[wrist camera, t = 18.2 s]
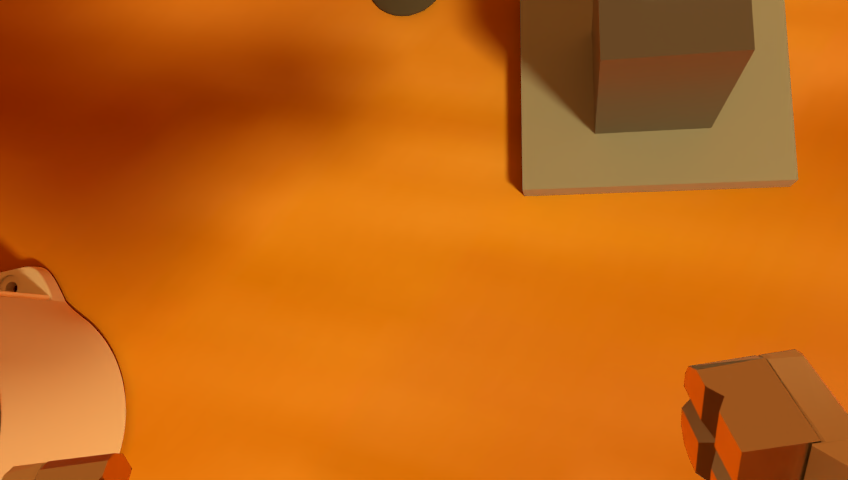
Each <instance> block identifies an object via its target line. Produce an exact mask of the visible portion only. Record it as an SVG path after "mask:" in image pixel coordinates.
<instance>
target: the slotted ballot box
mask: <svg viewBox="0 0 848 480" xmlns="http://www.w3.org/2000/svg"><path fill="white" fill-rule="evenodd" d="M754 51H755V42H754V27H753V13H752V0H593V15H592V54H593V87H594V121H595V134H603V133H622V132H642V131H662V130H681V129H701V128H712V126H713V124H714V122H715V120H716V119H717V117H718V115H719V113H720V111H721V110H722V108H723V106H724V104H725V103H726V101H727V99H728V97H729V95H730V94H731V92H732V90H733V88H734V86H735V85H736V83H737V81H738V79H739V77H740V76H741V74H742V72H743V70H744V68H745V67H746V65H747V63H748V61H749V60H750V58H751V56H752V54H753V52H754Z"/></svg>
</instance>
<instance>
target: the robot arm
mask: <svg viewBox="0 0 848 480" xmlns="http://www.w3.org/2000/svg"><path fill="white" fill-rule="evenodd" d="M16 285H17V291H16V292H14V288H15V286H16ZM684 387H685V389H686V391H687V393H688V395H689V397H690V400H689V401H688V402H687V403H686V404H685V405H684V406H683V407H682V415H681V427H682V434H683V440H684V445H685V448H686V451H687V454H688V457H689V459H690V462H691V464H692V466H693V468H694V471H695V473H697V474H698V475H700V476H701V477H703V478H704V479H706V480H848V414H847V412H846V411H845V410H844V408H843V407H842V406H841V404H840V403H839V402H838V400H837V399H836V398H835V396H834V395H833V394H832V392H831V391H830V390H829V388H828V387H827V386H826V384H825V383H824V382H823V380H822V379H821V378H820V376H819V375H818V374H817V372H816V371H815V370H814V368H813V367H812V366H811V364H810V363H809V362H808V360H807V359H806V358H805V356H804V355H803V354H802V353H801V352H799V351H797V350H795V349H793V350H787V351H781V352H774V353H768V354H762V355H759V356H755V355H754V356H748V357H742V358H736V359H730V360H723V361H717V362H711V363H705V364H699V365H692V366H688V368H687V370H686V372H685V379H684ZM125 420H126V402H125V392H124V385H123V381H122V377H121V373H120V370H119V367H118V364H117V362H116V359H115V357H114V355H113V353H112V351H111V349H110V347H109V346H108V344H107V343H106V341H105V340H104V338H103V337H102V336H101V335H100V333H99V332H98V331H97V330H96V329H95V328H94V327H93V326H92V325H91V324H90V323H89V322H88V321H87V320H85V319H84V318H83V317H82V316H80V315H79V314H78V313H77V312H75V311H74V310H73V309H72V308H71V307H70V306H69V305H68V304H67V303H66V301H65V299H64V297H63V295H62V293H61V291H60V289H59V287H58V285H57V283H56V281H55V279H54V278H53V276H52V275H51V273H50V272H49V271H48V270H46V269H45V268H42V267H31V266H27V267H21V268H17V269H13V270H8V271H4V272H0V480H129V477H130V474H131V470H132V468H131V466H130V464H129V463H128V461H127V459H126V458H125V456H124V454H121V453H120V449H121V445H122V441H123V436H124V430H125Z"/></svg>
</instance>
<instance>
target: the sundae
mask: <svg viewBox="0 0 848 480" xmlns="http://www.w3.org/2000/svg"><path fill="white" fill-rule="evenodd" d="M435 1H436V0H373V2H374V3H375V4H376V5H377V6H378V7H379V8H380V9H381V10H383V11H385V12H386V13H389V14H392V15H396V16H409V15H413V14H416V13H419V12H421V11H423V10H425V9H426V8H428V7H429V6H430V5H431V4H432V3H433V2H435Z"/></svg>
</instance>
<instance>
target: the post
mask: <svg viewBox="0 0 848 480" xmlns="http://www.w3.org/2000/svg"><path fill="white" fill-rule="evenodd" d="M752 13H753V27H754V42H755V51H754V52H753V54H752V56H751V58H750V60H749V61H748V63H747V65H746V67H745V68H744V70H743V72H742V74H741V76H740V77H739V79H738V81H737V83H736V85H735V86H734V88H733V90H732V92H731V94H730V95H729V97H728V99H727V101H726V103H725V104H724V106H723V108H722V110H721V111H720V113H719V115H718V117H717V119H716V120H715V122H714V124H713V126H712V128H701V129H681V130H662V131H642V132H622V133H603V134H595V121H594V87H593V54H592V15H593V0H520V39H521V116H522V190H523V193H524V196H538V195H566V194H594V193H622V192H650V191H678V190H706V189H734V188H762V187H790V186H791V185H792V184H794V183H795V182H796V181H797V180H798V172H797V159H796V146H795V133H794V120H793V107H792V94H791V81H790V68H789V55H788V42H787V29H786V16H785V3H784V0H752Z"/></svg>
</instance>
